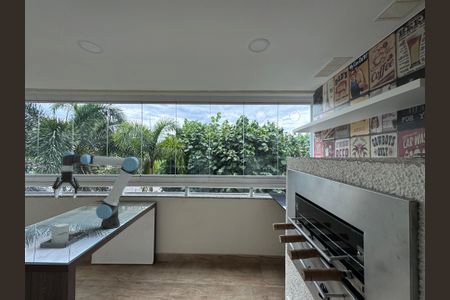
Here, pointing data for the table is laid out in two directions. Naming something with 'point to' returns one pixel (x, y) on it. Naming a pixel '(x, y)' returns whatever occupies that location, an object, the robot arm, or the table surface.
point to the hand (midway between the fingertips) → (65, 197)
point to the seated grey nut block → (73, 234)
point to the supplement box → (60, 233)
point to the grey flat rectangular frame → (63, 245)
